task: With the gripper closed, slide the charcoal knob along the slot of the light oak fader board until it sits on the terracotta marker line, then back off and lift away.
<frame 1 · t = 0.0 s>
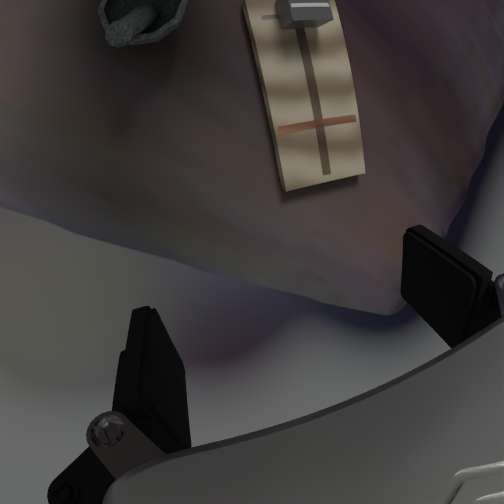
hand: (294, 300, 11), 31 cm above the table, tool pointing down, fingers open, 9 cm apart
fader knob: (303, 9, 28), point 5 cm above the table, slide at 0.0 cm
mortar and pestle: (147, 24, 29), on the table
fader board: (306, 86, 36), on the table
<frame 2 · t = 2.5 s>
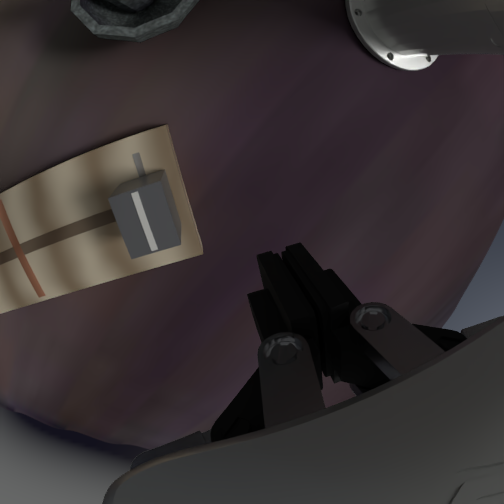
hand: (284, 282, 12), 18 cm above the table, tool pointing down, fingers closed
fader knob: (147, 212, 23), point 5 cm above the table, slide at 0.0 cm
mortar and pestle: (140, 6, 19), on the table
fader board: (62, 228, 26), on the table
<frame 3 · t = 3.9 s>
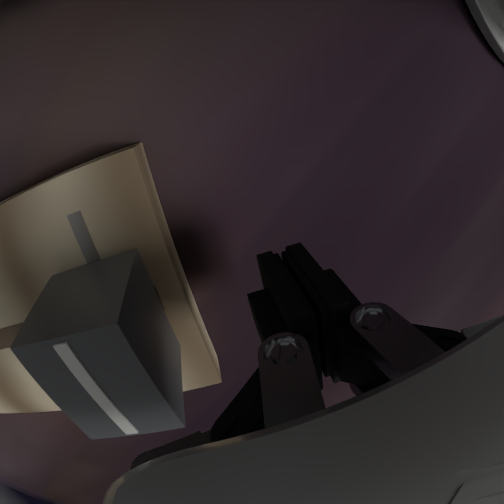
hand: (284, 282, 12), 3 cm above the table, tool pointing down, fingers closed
fader knob: (108, 350, 10), point 5 cm above the table, slide at 0.0 cm
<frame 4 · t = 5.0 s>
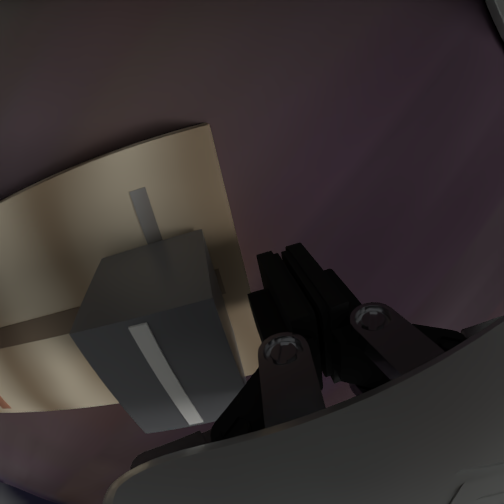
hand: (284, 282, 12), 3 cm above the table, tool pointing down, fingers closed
fader knob: (170, 335, 10), point 5 cm above the table, slide at 0.2 cm, touching gripper
fader board: (16, 315, 13), on the table
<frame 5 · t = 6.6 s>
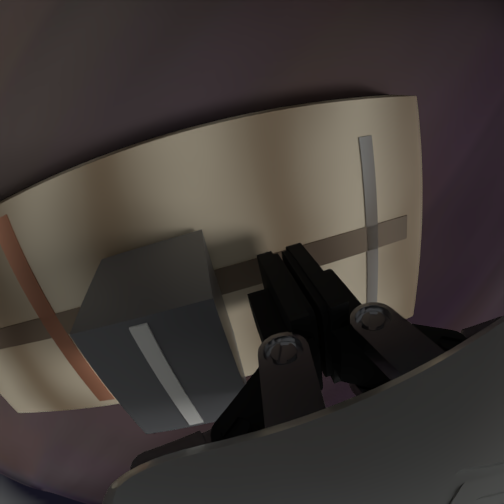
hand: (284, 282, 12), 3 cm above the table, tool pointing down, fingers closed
fader knob: (170, 335, 10), point 5 cm above the table, slide at 9.0 cm, touching gripper
fader board: (151, 277, 14), on the table
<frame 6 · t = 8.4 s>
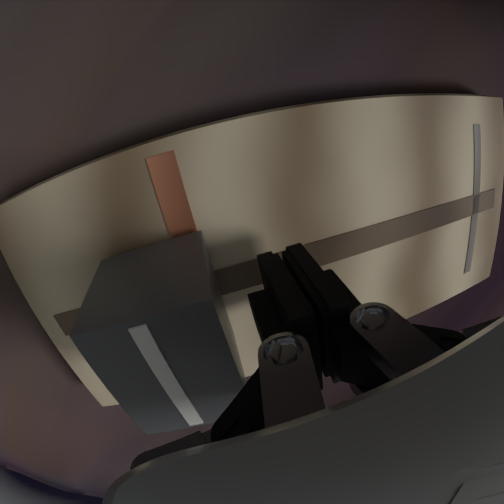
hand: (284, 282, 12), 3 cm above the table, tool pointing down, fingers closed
fader knob: (170, 336, 10), point 5 cm above the table, slide at 16.3 cm, touching gripper
fader board: (302, 235, 15), on the table
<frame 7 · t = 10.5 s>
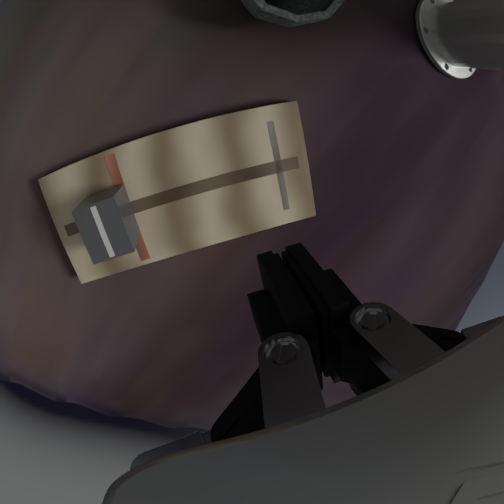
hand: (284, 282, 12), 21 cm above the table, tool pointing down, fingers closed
fader knob: (107, 223, 25), point 5 cm above the table, slide at 16.5 cm
fader board: (176, 188, 30), on the table
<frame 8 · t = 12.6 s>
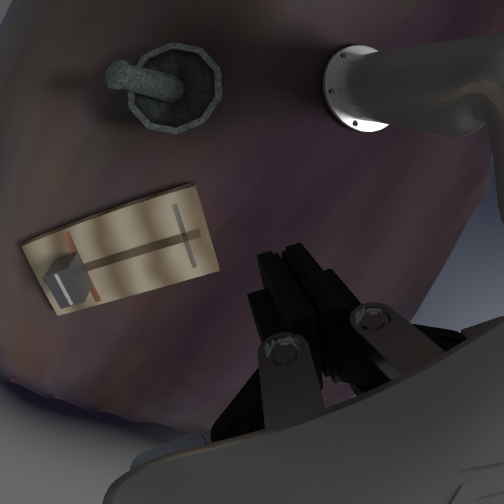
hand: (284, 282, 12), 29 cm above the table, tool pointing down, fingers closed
fader knob: (68, 280, 35), point 5 cm above the table, slide at 16.5 cm
mortar and pestle: (170, 90, 33), on the table
fader board: (116, 252, 40), on the table
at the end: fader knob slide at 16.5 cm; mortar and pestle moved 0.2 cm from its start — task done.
